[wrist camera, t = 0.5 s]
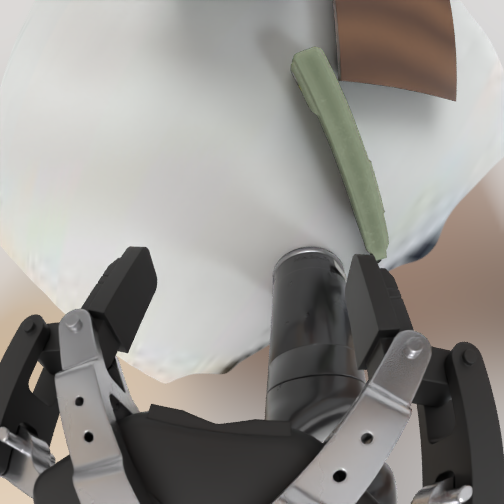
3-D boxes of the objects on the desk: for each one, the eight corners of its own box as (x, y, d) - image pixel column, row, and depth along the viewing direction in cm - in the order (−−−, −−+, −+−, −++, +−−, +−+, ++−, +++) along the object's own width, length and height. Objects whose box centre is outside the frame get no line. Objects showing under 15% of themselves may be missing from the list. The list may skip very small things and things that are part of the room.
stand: (436, 96, 20) (456, 101, 17) (332, 80, 22) (341, 80, 18) (428, -13, 12) (445, -20, 9) (321, -36, 14) (327, -51, 10)
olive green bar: (317, 51, 20) (386, 250, 32) (286, 62, 21) (363, 258, 33) (325, 42, 15) (400, 286, 27) (284, 57, 16) (373, 294, 28)
